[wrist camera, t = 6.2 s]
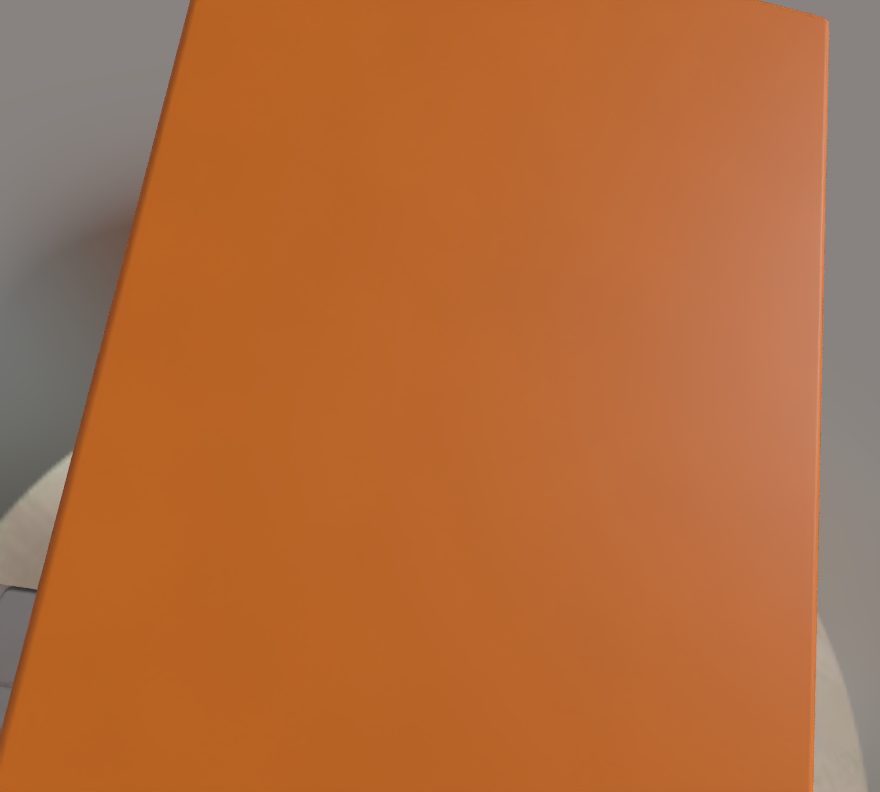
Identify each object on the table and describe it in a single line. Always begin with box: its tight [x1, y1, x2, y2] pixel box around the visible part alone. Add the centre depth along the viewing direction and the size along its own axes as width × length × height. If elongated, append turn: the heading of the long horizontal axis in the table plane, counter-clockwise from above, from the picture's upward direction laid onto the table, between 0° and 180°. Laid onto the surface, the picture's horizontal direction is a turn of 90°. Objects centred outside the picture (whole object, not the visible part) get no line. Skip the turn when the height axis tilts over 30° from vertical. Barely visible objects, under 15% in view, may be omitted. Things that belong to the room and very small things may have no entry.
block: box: [0, 0, 829, 792], centre depth 16 cm, size 3×4×28 cm
